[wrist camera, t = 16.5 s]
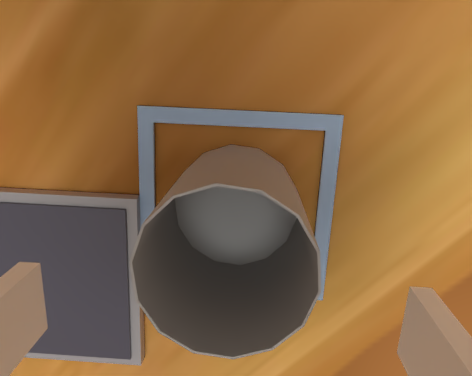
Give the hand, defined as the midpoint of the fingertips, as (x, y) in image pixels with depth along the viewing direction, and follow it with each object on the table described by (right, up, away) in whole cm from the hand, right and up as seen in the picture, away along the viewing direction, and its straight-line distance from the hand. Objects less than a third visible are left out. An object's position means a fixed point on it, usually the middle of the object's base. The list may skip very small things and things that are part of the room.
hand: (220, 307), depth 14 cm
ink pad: (-13, -2, +15) cm, 19 cm away
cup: (+1, +3, +13) cm, 13 cm away
